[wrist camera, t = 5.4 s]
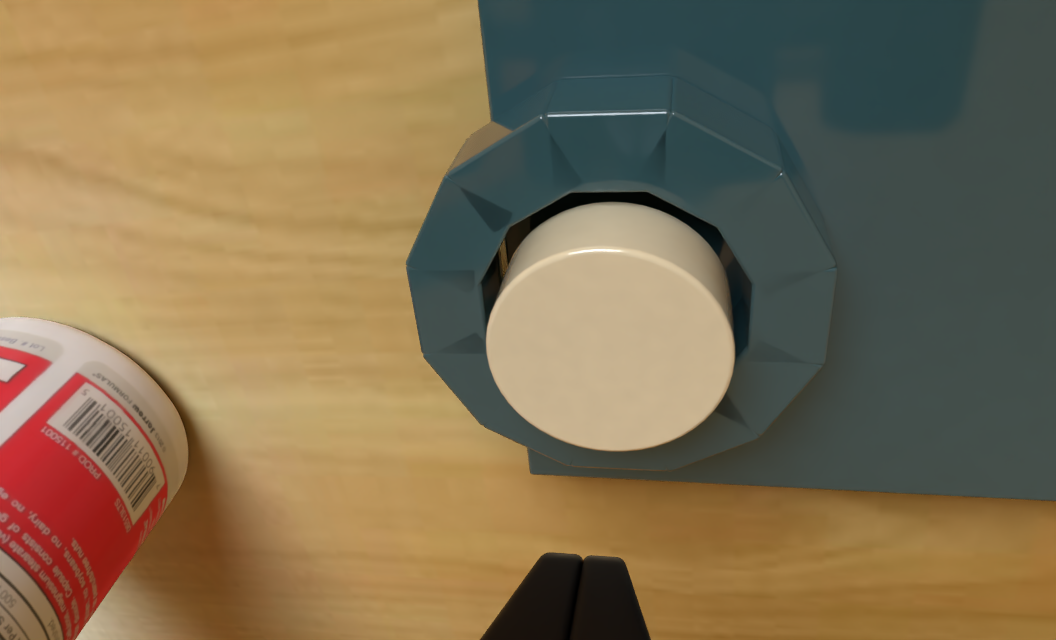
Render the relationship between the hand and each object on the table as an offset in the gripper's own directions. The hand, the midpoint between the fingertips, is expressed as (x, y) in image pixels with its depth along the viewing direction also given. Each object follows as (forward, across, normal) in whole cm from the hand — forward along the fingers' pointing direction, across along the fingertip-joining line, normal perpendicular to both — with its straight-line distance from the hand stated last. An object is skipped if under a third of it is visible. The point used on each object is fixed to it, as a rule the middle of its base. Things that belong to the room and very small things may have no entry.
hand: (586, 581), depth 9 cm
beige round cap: (+5, 0, 0) cm, 5 cm away
